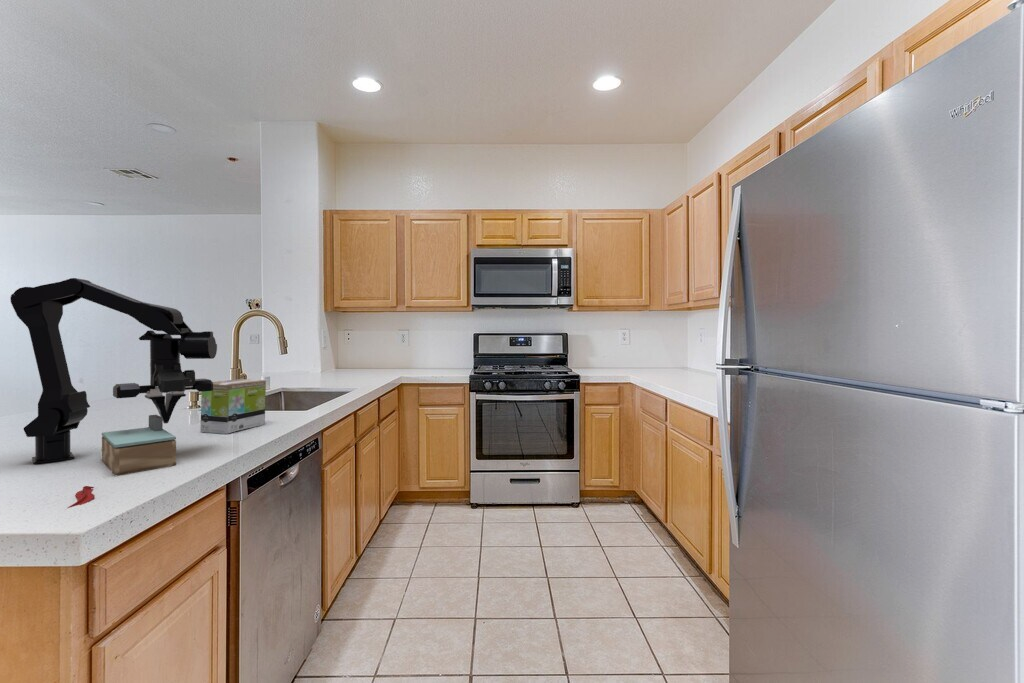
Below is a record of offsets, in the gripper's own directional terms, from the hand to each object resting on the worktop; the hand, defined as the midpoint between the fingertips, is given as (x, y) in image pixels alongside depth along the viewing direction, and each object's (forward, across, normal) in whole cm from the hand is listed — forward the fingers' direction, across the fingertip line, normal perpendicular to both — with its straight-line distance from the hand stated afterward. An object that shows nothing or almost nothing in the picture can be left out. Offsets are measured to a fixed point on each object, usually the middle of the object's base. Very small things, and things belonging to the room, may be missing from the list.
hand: (165, 423), depth 110 cm
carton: (+8, -6, -4) cm, 11 cm away
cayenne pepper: (+8, -17, -24) cm, 31 cm away
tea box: (+8, +22, +20) cm, 31 cm away
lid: (+2, -6, -5) cm, 8 cm away
